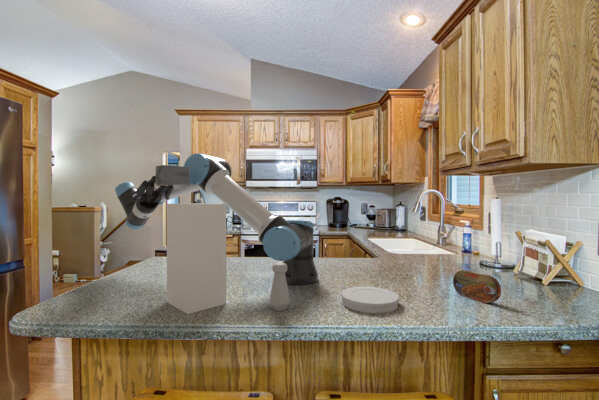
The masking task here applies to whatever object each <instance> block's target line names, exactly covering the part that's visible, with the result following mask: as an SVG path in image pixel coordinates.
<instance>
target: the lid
mask: <svg viewBox="0 0 599 400" xmlns="http://www.w3.org/2000/svg"><path fill="white" fill-rule="evenodd" d="M340 296H341V303H342V304H343V306H344V307H346V308H348V309H350V310H352V311H356V312H361V313H369V314H383V313H385V314H386V313H389V312H393V311H395V310H397V309H398V306H399V305H398V303H399V302H400V296H399V294H397V293H396V292H394V291H393V290H390V289H386V288H382V287H378V286H377V287H376V286H352V287H347V288H345V289H343V290H341V293H340Z"/></svg>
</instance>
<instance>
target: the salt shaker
mask: <svg viewBox="0 0 599 400" xmlns="http://www.w3.org/2000/svg"><path fill="white" fill-rule="evenodd" d="M271 268H272V272H273V273H274V274H273V279H272V285H271V291H270V296H269V304H270V306H271V309H272V310H273V311H275V312H283V311H286V310H287V309H288V307H289V304H290V302H291V299H290V294H289V293H290V292H289V289H288V288H289V287H288V284H287V281H286V276H285V272H286V271H287V265H286V264H285V263H283V262H276V263H274V264H272V267H271Z"/></svg>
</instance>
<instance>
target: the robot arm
mask: <svg viewBox="0 0 599 400" xmlns="http://www.w3.org/2000/svg"><path fill="white" fill-rule="evenodd" d="M183 167H189V185H166V186H157V184H156V174H155V175H152V177H151V178H150V179H149V180H146V179H145V180H143V181H142V182H141V184H140V185H139V186H138V187H136V186H135V185H134V183H132V182H131V181H124V182H122V183H118V185H116V186H115V189H114V191H115V194H116V197H117V198H118V201H119V202H120V204H121V207H122V209H123V211H124V214H125V216H126V218H125V225H126V226H127V227H128V228H129V229H132V230H139V229H140V230H141V229H142V228H143V227H144V226H145V225H146V224H147V223H148V221H149V219H150V217H151V216H152V214H153V213H154V212H155V210H156V209H157V208H158V206H161V205H163V204H164V203H165V202H166V201H169V200H174V199H175V198H179V197H181V196H184V195H185V196H186V195H188V194H192V193H194V192H197V191H201V190H203V191H204V192H205V193H206V194H208V195H215V196H216V197H217V198H218V199H219V200H220V201H221V202H222V204H226V207H228V208H229V209H230V210H231V211H232V212H233V213H234V214H235V215H237V217H239V218H240V219H241V220H242V221H243V222H244V223H246V224H247V225H248V226H249V227H250V228H251V229H252V230H253V231H254V232H255V233H256V234H258V235H257V236H258V241H259V242H260V243H261V244H262V245H263V250H264V252H265V253H266V254H265V255H267V256H268V257H269V258H271V260H274V261H278V262H282V263H285V264H286V265H287V271H286V272H285V276H286V281H287V285H309V284H312V283H317V281H318V280H319V274H318V273H319V272H318V271H317V267H316V265H315V261H314V232H315V229H314V223H313V222H312V221H310V220H298V219H297V220H296V219H285V218H284V217H283V216H282V215H274V214H273V213H271V211H269V210H268V209H267V208H266V207H265V206H264V205H263V204H261V202H259V201H258V200H257V199H255V198H254V197H253V196H252V195H251V194H250V193H249V192H247V191H246V190H245V189H244V188H243V187H242V186H240V185H239V184H238V182H236V181H235V180H233V178H232V173H233V171H232V167H231V165H230V163H228V161H227V160H225V159H224V158H221V157H219V156H218V157H217V156H212V155H208V154H205V153H193V154H190V155H189V156H188V157H187V158H186V160H185V161H184V164H183Z"/></svg>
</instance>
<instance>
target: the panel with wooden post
mask: <svg viewBox="0 0 599 400" xmlns="http://www.w3.org/2000/svg"><path fill="white" fill-rule="evenodd" d="M155 175H156V184H157V186H166V185H189V167H184V166H178V165H165V164H164V165H162V164H161V165H155ZM157 186H156V187H157Z"/></svg>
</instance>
